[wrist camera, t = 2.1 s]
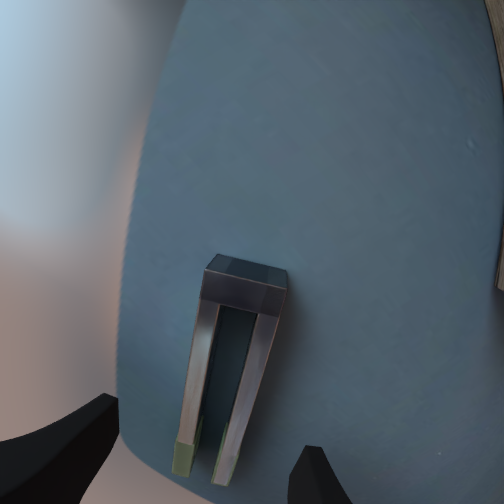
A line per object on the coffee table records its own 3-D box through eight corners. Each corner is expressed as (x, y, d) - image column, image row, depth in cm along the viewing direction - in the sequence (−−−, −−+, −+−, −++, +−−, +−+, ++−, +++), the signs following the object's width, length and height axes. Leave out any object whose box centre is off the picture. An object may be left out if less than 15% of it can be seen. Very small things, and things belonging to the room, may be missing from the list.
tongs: (233, 458, 16) (228, 487, 14) (181, 445, 16) (171, 473, 14) (288, 270, 14) (291, 289, 11) (214, 252, 14) (201, 267, 11)
